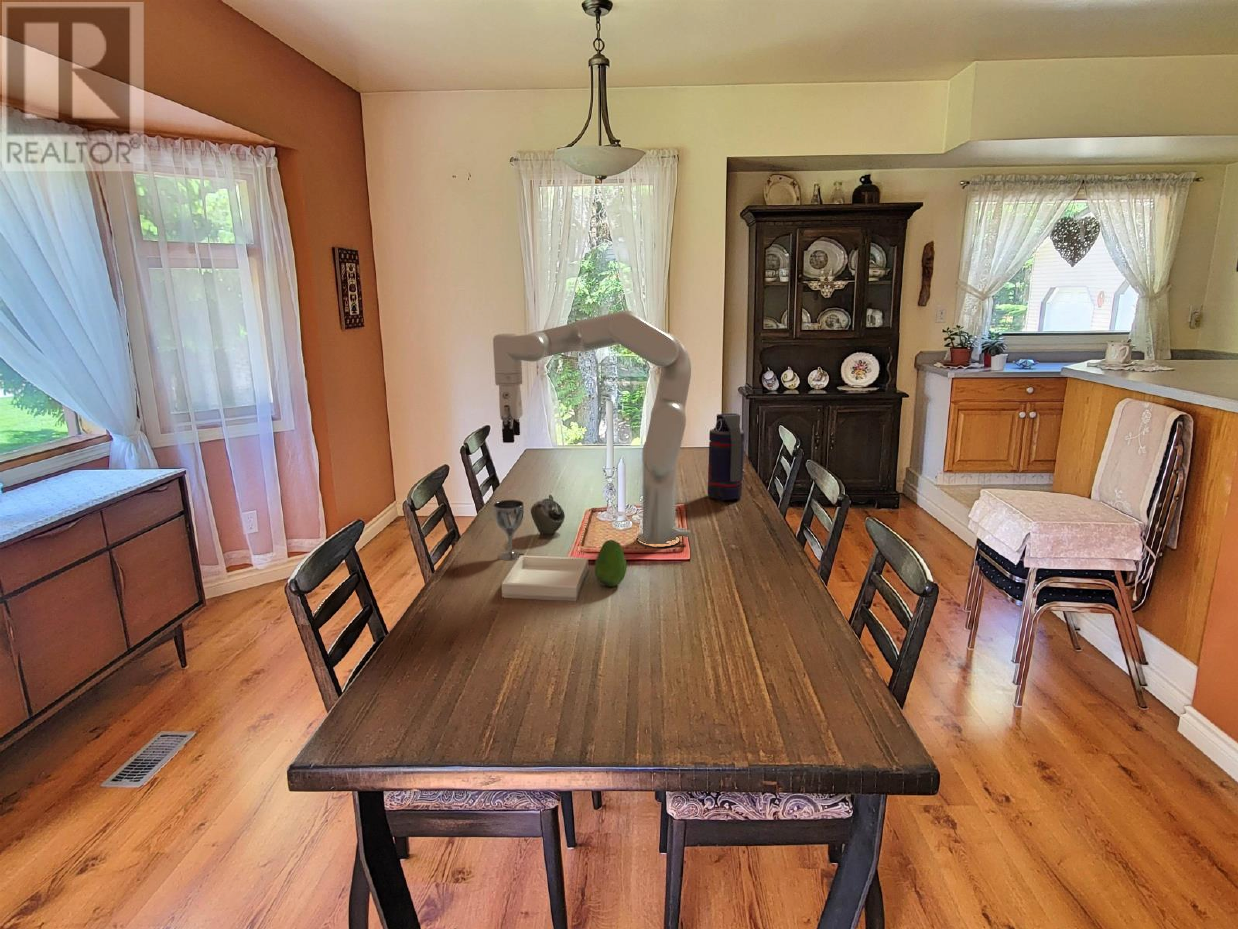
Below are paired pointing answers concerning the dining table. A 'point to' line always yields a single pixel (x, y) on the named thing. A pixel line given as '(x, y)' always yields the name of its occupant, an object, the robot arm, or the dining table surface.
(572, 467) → the dining table surface
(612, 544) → the avocado
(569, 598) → the tray
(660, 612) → the dining table surface
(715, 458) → the grenade
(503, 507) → the wine glass
